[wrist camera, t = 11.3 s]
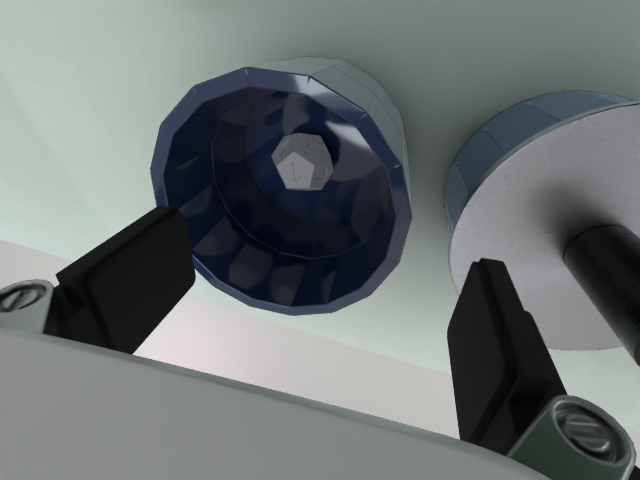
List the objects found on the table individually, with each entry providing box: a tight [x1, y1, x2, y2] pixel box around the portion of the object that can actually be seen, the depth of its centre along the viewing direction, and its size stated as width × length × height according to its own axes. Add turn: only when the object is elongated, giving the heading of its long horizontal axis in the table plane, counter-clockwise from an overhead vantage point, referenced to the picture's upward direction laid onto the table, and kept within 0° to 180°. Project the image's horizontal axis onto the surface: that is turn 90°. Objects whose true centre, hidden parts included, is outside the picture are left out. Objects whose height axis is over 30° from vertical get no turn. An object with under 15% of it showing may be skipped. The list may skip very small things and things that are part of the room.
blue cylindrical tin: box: [444, 90, 636, 233], centre depth 17 cm, size 11×11×6 cm
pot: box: [150, 56, 412, 316], centre depth 17 cm, size 11×11×9 cm
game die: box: [271, 133, 334, 191], centre depth 19 cm, size 4×4×3 cm
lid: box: [448, 100, 640, 367], centre depth 12 cm, size 12×12×6 cm
